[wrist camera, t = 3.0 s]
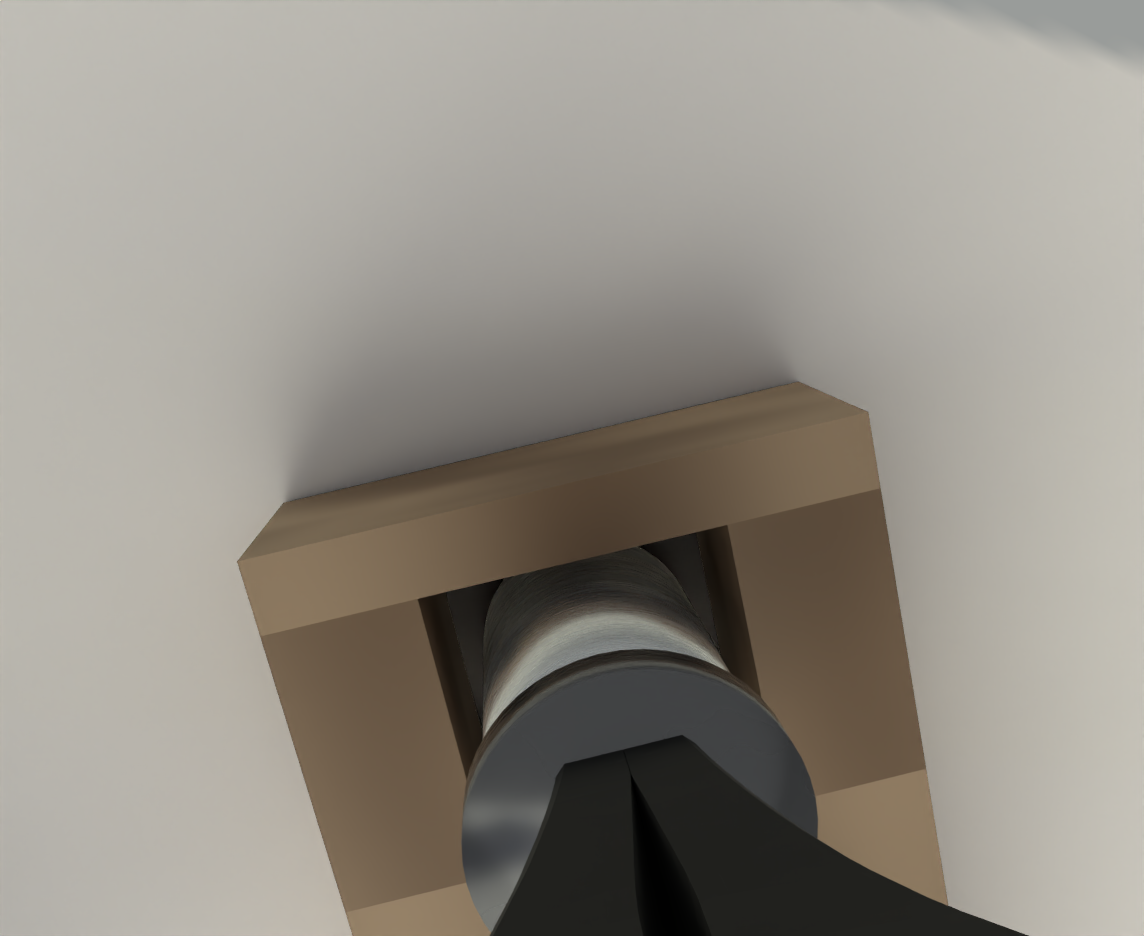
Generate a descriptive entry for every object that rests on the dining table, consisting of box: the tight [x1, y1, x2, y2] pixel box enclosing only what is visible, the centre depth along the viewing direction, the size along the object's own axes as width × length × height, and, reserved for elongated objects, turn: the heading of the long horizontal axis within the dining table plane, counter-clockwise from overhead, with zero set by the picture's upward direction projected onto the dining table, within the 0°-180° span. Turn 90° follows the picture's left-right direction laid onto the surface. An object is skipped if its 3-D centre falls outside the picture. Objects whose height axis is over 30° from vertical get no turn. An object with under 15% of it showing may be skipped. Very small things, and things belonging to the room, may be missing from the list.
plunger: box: [461, 546, 818, 932], centre depth 13 cm, size 4×4×6 cm
